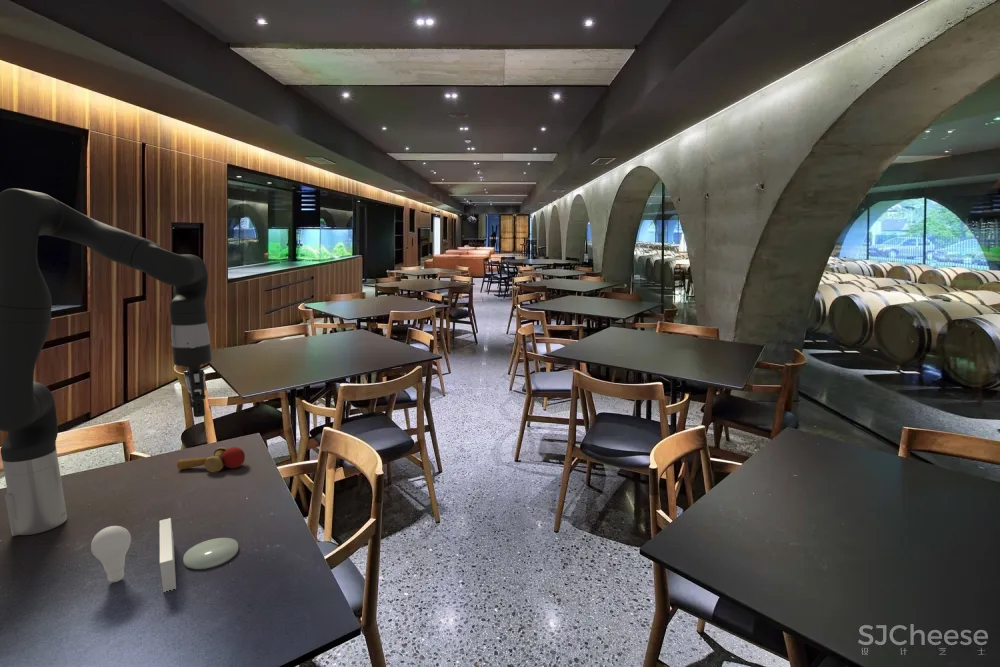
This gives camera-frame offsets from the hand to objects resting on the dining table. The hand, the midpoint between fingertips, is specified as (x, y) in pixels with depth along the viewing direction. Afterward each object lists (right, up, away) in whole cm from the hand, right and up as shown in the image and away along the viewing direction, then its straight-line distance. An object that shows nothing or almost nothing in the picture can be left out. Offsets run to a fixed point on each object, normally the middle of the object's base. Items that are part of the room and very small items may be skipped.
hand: (197, 411), depth 123 cm
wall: (+4, -28, -18) cm, 34 cm away
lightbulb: (-3, -29, -22) cm, 37 cm away
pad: (+11, -28, -14) cm, 33 cm away
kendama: (-12, -21, +29) cm, 38 cm away
